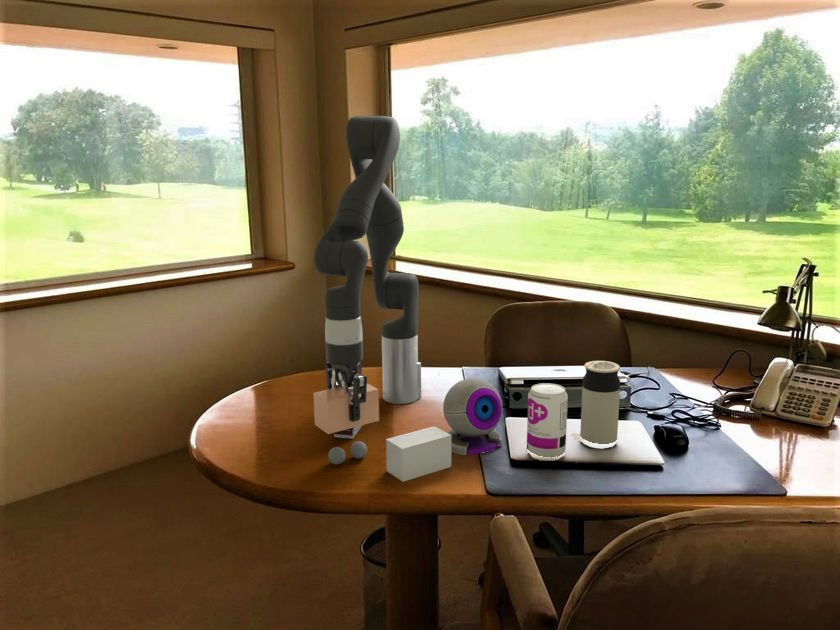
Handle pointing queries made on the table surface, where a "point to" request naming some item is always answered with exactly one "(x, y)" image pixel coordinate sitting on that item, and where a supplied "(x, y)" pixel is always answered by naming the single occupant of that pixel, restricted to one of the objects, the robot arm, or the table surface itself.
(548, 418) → the supplement can
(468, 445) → the webcam
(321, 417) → the peach rectangular block
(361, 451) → the slate ball
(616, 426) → the travel mug
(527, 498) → the table surface
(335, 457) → the slate ball
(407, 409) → the table surface
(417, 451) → the white rectangular eraser
